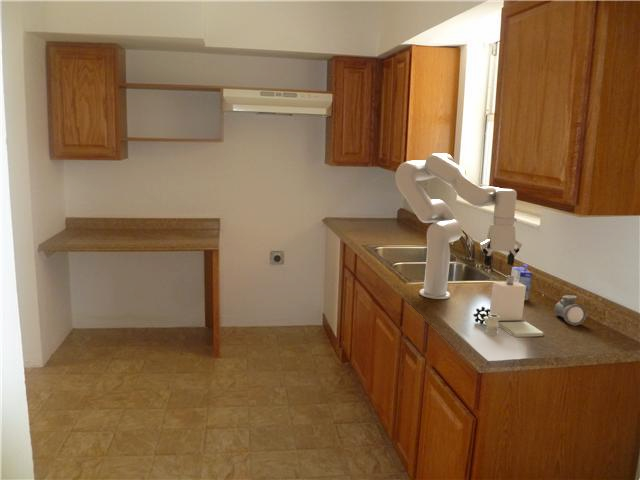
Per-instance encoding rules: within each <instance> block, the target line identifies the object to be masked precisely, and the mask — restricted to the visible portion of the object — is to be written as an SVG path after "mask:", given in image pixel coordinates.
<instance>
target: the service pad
mask: <svg viewBox="0 0 640 480" xmlns="http://www.w3.org/2000/svg"><path fill="white" fill-rule="evenodd" d="M499 327H500V328H502V330H504V331H506V332H507V333H509V334H510V335H512V337H514V338H519V337H520V338H525V337H544V334H545V333H544V331H541V330H540V329H539V328H537V327H535V326H534V325H532V324H531V323H529V322H527V321H524V322H499Z"/></svg>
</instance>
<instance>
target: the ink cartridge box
mask: <svg viewBox="0 0 640 480" xmlns="http://www.w3.org/2000/svg"><path fill="white" fill-rule="evenodd" d="M528 266H529V265H527V264H526V263H523V265H521V266H519V267H518V266H511V273H510V275H511V276H514V280H513V282H519V283H521V284H523V285H525V286H526V292H525V299H524V301H529V295H530V289H531V282H532V276H533V272H531V271H529V270H528V269H527V268H528Z"/></svg>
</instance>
